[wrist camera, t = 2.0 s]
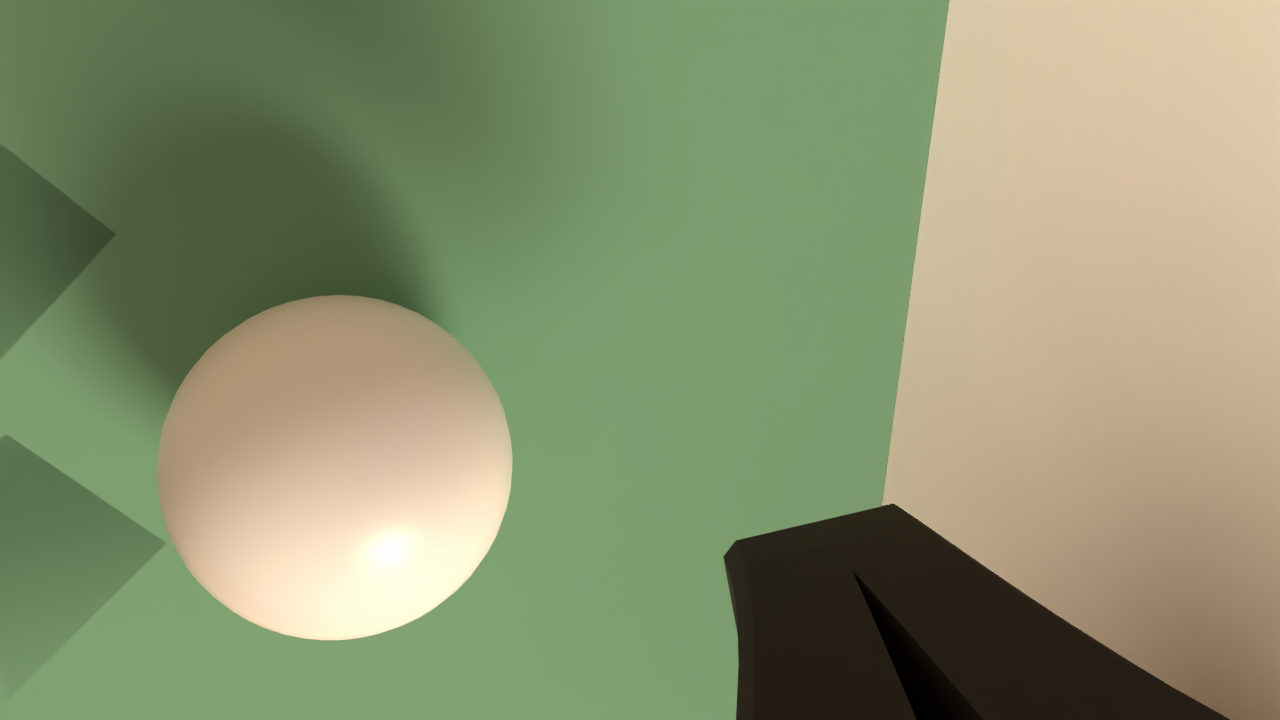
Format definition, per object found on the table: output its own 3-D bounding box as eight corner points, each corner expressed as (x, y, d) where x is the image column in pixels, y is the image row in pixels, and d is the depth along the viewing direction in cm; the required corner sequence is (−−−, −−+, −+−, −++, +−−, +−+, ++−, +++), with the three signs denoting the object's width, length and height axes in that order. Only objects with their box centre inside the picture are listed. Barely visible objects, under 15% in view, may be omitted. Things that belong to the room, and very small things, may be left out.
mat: (892, -103, 13) (962, -96, 11) (812, 628, 17) (852, 723, 15) (-871, -154, 10) (-1156, -158, 9) (-475, 701, 14) (-613, 821, 13)
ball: (507, 247, 12) (514, 376, 9) (511, 514, 13) (520, 704, 10) (182, 250, 11) (76, 388, 8) (221, 526, 12) (141, 727, 10)
